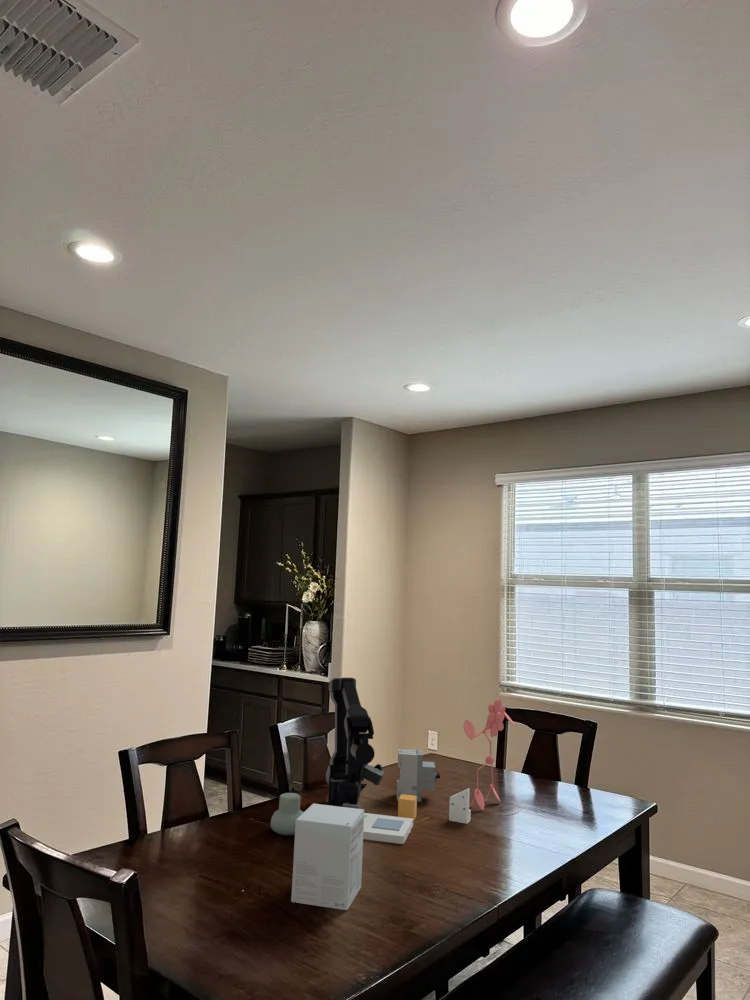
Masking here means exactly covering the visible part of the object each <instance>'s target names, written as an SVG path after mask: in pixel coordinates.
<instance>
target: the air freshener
mask: <svg viewBox="0 0 750 1000" xmlns="http://www.w3.org/2000/svg"><path fill="white" fill-rule="evenodd" d="M300 808H301V795H299V794H298V793H296V792H295V793H294V792H285V793H282V794H280V795H279V802H278V809H277V810H275V811H274V812H273V814H272V816H271V819H270V828H271V830H272V831H273V832H275V833H277V834H278V835H282V836H295V821H296V819H297V818H298V817H299V816H300V815H302V814H303V813H304V812H305V811H303V810H301V809H300Z"/></svg>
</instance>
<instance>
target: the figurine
mask: <svg viewBox="0 0 750 1000" xmlns="http://www.w3.org/2000/svg"><path fill="white" fill-rule="evenodd" d="M488 712H489V714H488V715H487V717H486V719H487V720H486V723H485V727H484V729H483V730H481V731H480V732H479V733H477V734H476V728H475V726H474V724H473V722H471V721H470V720H469V719H468V718H467V719H465V721H464V722H463V731H464V732H465V735H466V736H467V737H468V738H469V739H470V740H471V741H473V740H474V739H475V738H476V737H478V736H479V735H481V734H484V735H485V737H486V738H487V741H488V742H489V755H488V756H486V757H485V759H484V760H485V764H483V765H482V766H480V767H479V768H477V769H476V779H477V780H476V781H477V782H476V784H477V785H476V786H477V788H475V790H474V792H473V795H474V797H473V799H472V801H470V803H469V808H471V807H472V806H473V804H474V801H475V802H476V804H477V806H478V807H479V809H480V811H482V812H483V811H484V810H485V802H486V801H487V800H488V798H489V796H490V794H491V791H492V792H493V794H494V796H495V798H496V800H497V801H498V802H499V803H500V804H501V803H502V802H501V800H500V797H499V795H498V793H497V791H496V790H495V786H494V774H493V773H494V771H493V764H494V762H495V761H494V758H493V757H492V741H491V739H490V737H491V738H494V737H497V736H498V734H499V731H500V732H501V731H503V730H504V728H505V727H504V719H505V718H506V719H507V720H508V722H510V724H512V725H513V726H514V727H516V724H515V722H514V721H513V720H512V718H511V717H510V716H509V715H508V714H507V712H506V705H503V706H502V700H501V698H498V699H495V701H494V704H493V703H489V705H488ZM487 733H490V737H489V736H488V735H487ZM486 765H488V766H489V765H491V767H490V768H491V769H490V770H491V783H490V784H489V786H490V789H489V790H488V792H487V794H486V796H485V798H484V795H483V793H482V792H481V790H480V789H479V770H481V769H482V768H483V767H485V766H486ZM518 807H519V809H520V806H518ZM519 812H520V810H518V811H517V812H514V813H512V814H507V815H506V814H505V815H504V817H507V816H512V815H513V816H514V815H515V814H517V815H518V814H519Z"/></svg>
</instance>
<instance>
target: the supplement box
mask: <svg viewBox="0 0 750 1000" xmlns="http://www.w3.org/2000/svg"><path fill="white" fill-rule="evenodd" d="M303 812H304V813H303V814H302V815H300V816H299V817H298V818H297V819H296V821H295V835H294V841H293V842H294V846H293V861H292V862H293V863H292V865H293V867H292V877H291V878H292V879H291V880H292V881H291V882H292V883H291V897H290V901H291V902H290V903H295V902H296V904H297V903H298V904H304V905H310V906H316V907H323V908H327V909H330V908H331V909H336V910H341V911H348V909H349V908H350V907H351V904H353V902H354V900H355V898H356V896H357V895H358V894H359V892H360V890H361V888H362V878H363V877H362V874H363V873H362V872H363V871H362V870H363V848H364V839H363V829H364V813H365V809H363V808H361V809H356V808H347V807H342V806H339V805H330V804H319V803H312V804H311V805H310V806H309V807H308V808H307V809H306V810H305V811H303Z"/></svg>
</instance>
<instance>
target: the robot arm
mask: <svg viewBox="0 0 750 1000" xmlns="http://www.w3.org/2000/svg"><path fill="white" fill-rule="evenodd" d="M328 691H329V694H330V695H329V697H330V699H331V701H332V703H333V705H334V752H333V753H332V755H331V757H330V759H329V764H328V766H327V769H326V772H325V782H326V783H327V785H328V797H327V798H328V799H327V801H326V805H335V806H343V803H347V804H356V805H359V804H358V803H359V800H360V797H361V792H362V791H363V790H364V788H366V787H367V785H368V784H367V783H363V781H365V780H366V781H369V782H371V783H372V784H373V785H375V786H379V785H380V784H381V783H382V780H383V777H384V776H385V771H384V770H383V765H382V764H380V763H377V764H376V765H370V763H371V762H372V761H373V760H374V758H375V750H374V747H373V746H372V745H371V744H370V742H369V740H373V739H374V735H375V731H374V726H373V721H372V719H371V717H370V716H369V713H368V711H367V709H366V708H364V707H363V706H362V704H361V701H360V697H359V694H358V690H357V680H356V678H354V677H333V678H332V680H331V679H330V681H329V682H328Z"/></svg>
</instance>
